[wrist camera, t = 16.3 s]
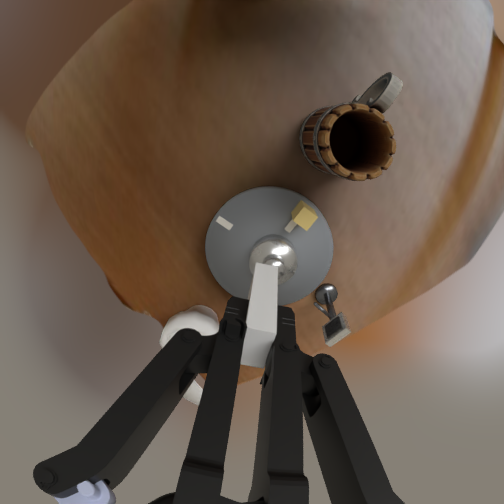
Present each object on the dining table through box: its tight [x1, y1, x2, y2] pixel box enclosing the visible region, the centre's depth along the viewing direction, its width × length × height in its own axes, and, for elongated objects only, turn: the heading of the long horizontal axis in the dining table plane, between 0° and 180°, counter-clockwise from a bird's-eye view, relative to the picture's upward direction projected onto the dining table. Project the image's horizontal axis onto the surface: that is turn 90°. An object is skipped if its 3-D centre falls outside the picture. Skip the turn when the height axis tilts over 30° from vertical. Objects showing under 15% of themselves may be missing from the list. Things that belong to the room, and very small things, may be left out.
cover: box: [249, 234, 297, 285], centre depth 40 cm, size 7×7×5 cm
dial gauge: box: [314, 284, 351, 347], centre depth 43 cm, size 7×4×12 cm, turn 48°
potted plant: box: [159, 305, 219, 406], centre depth 42 cm, size 13×12×25 cm
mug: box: [299, 72, 403, 181], centre depth 30 cm, size 16×11×15 cm
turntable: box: [205, 186, 333, 306], centre depth 41 cm, size 20×20×6 cm
